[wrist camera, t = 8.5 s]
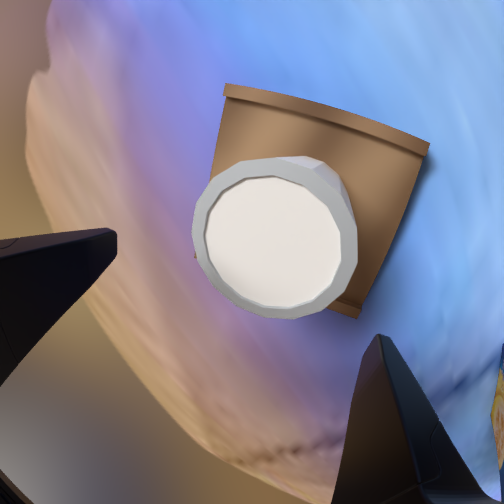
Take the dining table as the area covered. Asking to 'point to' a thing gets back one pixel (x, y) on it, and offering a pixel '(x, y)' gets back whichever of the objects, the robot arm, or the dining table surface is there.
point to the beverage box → (499, 422)
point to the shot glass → (277, 235)
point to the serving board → (336, 157)
